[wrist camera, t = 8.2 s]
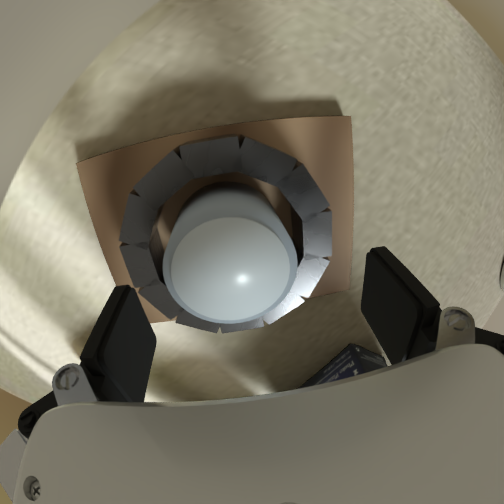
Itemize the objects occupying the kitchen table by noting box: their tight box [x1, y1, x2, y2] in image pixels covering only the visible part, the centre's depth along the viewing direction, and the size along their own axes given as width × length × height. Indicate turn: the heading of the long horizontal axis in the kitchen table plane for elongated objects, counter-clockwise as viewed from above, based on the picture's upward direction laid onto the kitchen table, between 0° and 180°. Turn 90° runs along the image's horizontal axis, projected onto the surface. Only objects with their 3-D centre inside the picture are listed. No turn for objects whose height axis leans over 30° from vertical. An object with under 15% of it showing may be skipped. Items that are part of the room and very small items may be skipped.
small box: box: [298, 344, 387, 389], centre depth 22 cm, size 11×6×10 cm, turn 145°
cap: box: [163, 181, 297, 324], centre depth 14 cm, size 6×6×5 cm
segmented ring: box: [119, 134, 332, 333], centre depth 15 cm, size 11×11×2 cm
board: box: [76, 116, 354, 323], centre depth 16 cm, size 16×12×1 cm
